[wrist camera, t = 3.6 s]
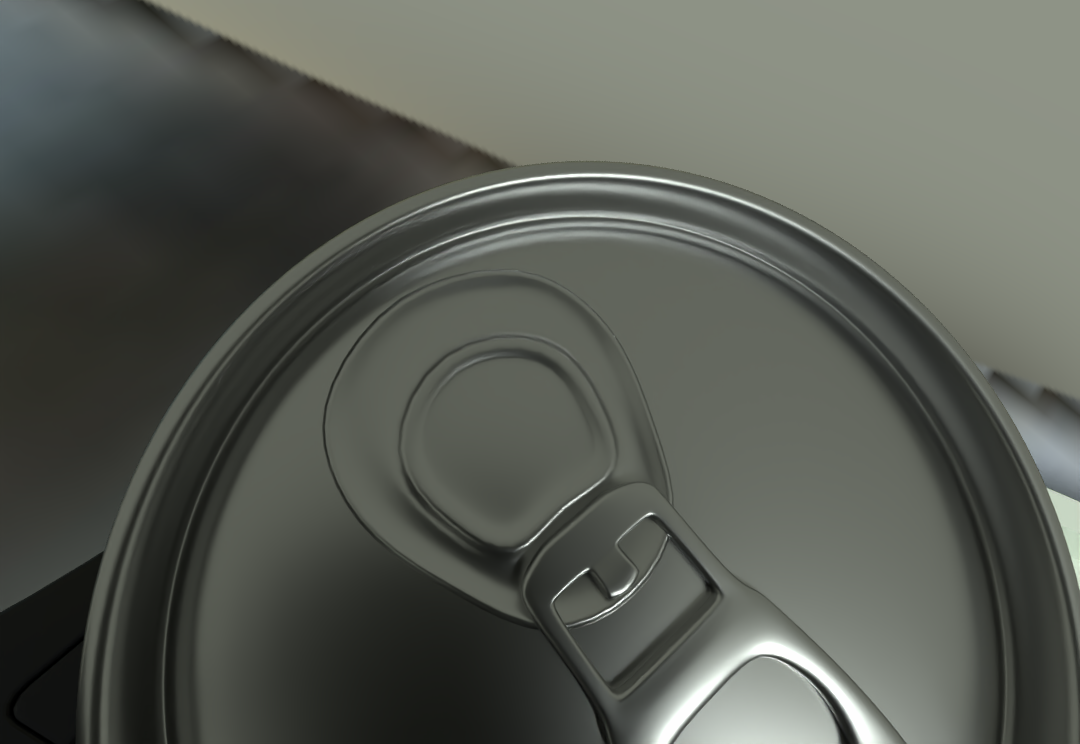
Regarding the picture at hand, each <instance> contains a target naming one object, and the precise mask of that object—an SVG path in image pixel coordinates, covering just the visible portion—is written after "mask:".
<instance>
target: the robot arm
mask: <svg viewBox="0 0 1080 744" xmlns="http://www.w3.org/2000/svg"><path fill="white" fill-rule="evenodd" d="M103 553H104V551H103V552H101V553H100V554H98V555H97V556H95V557H93V558H92V559H90V560H89V561H87V562H85V563H84V564H82V565H80V566H79V567H77V568H75V569H74V570H72V571H70V572H69V573H67V574H65V575H64V576H62V577H61V578H59V579H57V580H56V581H54V582H52V583H51V584H49V585H47V586H46V587H44V588H42V589H41V590H39V591H37V592H36V593H34V594H32V595H31V596H29V597H27V598H25V599H24V600H22V601H20V602H18V603H16V604H15V605H13V606H11V607H9V608H7V609H6V610H4V611H2V612H0V744H76V708H77V693H78V680H79V671H80V663H81V654H82V647H83V641H84V635H85V629H86V623H87V617H88V613H89V608H90V603H91V599H92V594H93V589H94V585H95V582H96V578H97V574H98V570H99V567H100V563H101V559H102V556H103Z"/></svg>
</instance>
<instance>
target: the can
mask: <svg viewBox="0 0 1080 744" xmlns="http://www.w3.org/2000/svg"><path fill="white" fill-rule="evenodd" d="M76 744H1080V589H1079V585H1078V581H1077V577H1076V573H1075V569H1074V566H1073V562H1072V559H1071V555H1070V552H1069V549H1068V546H1067V542H1066V539H1065V536H1064V533H1063V530H1062V527H1061V524H1060V522H1059V519H1058V516H1057V513H1056V511H1055V508H1054V506H1053V503H1052V501H1051V498H1050V496H1049V493H1048V491H1047V488H1046V486H1045V484H1044V481H1043V479H1042V477H1041V475H1040V472H1039V470H1038V468H1037V466H1036V464H1035V462H1034V460H1033V458H1032V456H1031V454H1030V452H1029V450H1028V448H1027V446H1026V444H1025V442H1024V440H1023V438H1022V436H1021V435H1020V433H1019V431H1018V429H1017V427H1016V426H1015V424H1014V422H1013V420H1012V419H1011V417H1010V415H1009V414H1008V412H1007V410H1006V409H1005V407H1004V405H1003V404H1002V402H1001V401H1000V399H999V398H998V396H997V394H996V393H995V391H994V390H993V388H992V387H991V386H990V384H989V383H988V381H987V380H986V378H985V377H984V375H983V374H982V373H981V371H980V370H979V369H978V367H977V366H976V365H975V363H974V362H973V361H972V359H971V358H970V357H969V355H968V354H967V353H966V352H965V350H964V349H963V348H962V347H961V346H960V344H959V343H958V342H957V341H956V339H955V338H954V337H953V336H952V335H951V334H950V332H949V331H948V330H947V329H946V328H945V327H944V326H943V325H942V323H941V322H940V321H939V320H938V319H937V318H936V317H935V316H934V315H933V314H932V313H931V312H930V311H929V310H928V309H927V308H926V307H925V306H924V305H923V304H922V303H921V302H920V301H919V300H918V299H917V298H916V297H915V296H914V295H913V294H912V293H911V292H910V291H909V290H908V289H906V288H905V287H904V286H903V285H902V284H901V283H900V282H899V281H898V280H896V279H895V278H894V277H893V276H891V275H890V274H889V273H888V272H887V271H886V270H884V269H883V268H882V267H881V266H879V265H878V264H877V263H876V262H874V261H873V260H872V259H870V258H869V257H868V256H867V255H865V254H864V253H862V252H861V251H859V250H858V249H857V248H855V247H854V246H852V245H851V244H850V243H848V242H847V241H845V240H844V239H842V238H840V237H839V236H837V235H836V234H834V233H833V232H831V231H829V230H828V229H826V228H824V227H823V226H821V225H819V224H817V223H816V222H814V221H812V220H810V219H808V218H807V217H805V216H803V215H801V214H799V213H797V212H795V211H793V210H791V209H789V208H787V207H785V206H783V205H781V204H779V203H777V202H774V201H772V200H769V199H767V198H765V197H763V196H761V195H758V194H755V193H753V192H750V191H748V190H745V189H742V188H739V187H737V186H734V185H731V184H728V183H725V182H721V181H718V180H715V179H711V178H708V177H704V176H700V175H696V174H692V173H688V172H684V171H679V170H674V169H668V168H663V167H656V166H650V165H642V164H634V163H622V162H606V161H604V162H603V161H567V162H552V163H541V164H532V165H524V166H518V167H511V168H506V169H501V170H496V171H491V172H486V173H482V174H478V175H474V176H470V177H466V178H463V179H460V180H456V181H453V182H450V183H446V184H444V185H441V186H438V187H435V188H432V189H429V190H426V191H424V192H421V193H419V194H416V195H414V196H411V197H409V198H406V199H404V200H402V201H400V202H398V203H396V204H393V205H391V206H389V207H387V208H385V209H383V210H381V211H379V212H377V213H375V214H373V215H371V216H369V217H367V218H365V219H364V220H362V221H360V222H358V223H357V224H355V225H353V226H351V227H350V228H348V229H346V230H345V231H343V232H342V233H340V234H338V235H337V236H335V237H334V238H332V239H331V240H329V241H327V242H326V243H325V244H323V245H322V246H320V247H319V248H318V249H316V250H315V251H313V252H312V253H310V254H309V255H308V256H306V257H305V258H304V259H302V260H301V261H300V262H299V263H297V264H296V265H295V266H293V267H292V268H291V269H290V270H288V271H287V272H286V273H285V274H284V275H283V276H281V277H280V278H279V279H278V280H277V281H275V282H274V283H273V284H272V285H271V286H270V287H269V288H268V289H267V290H265V291H264V292H263V293H262V294H261V295H260V296H259V297H258V298H257V299H256V300H255V301H254V302H253V303H252V304H251V305H250V306H249V307H248V308H247V309H246V310H245V311H244V312H243V313H242V314H241V315H240V316H239V317H238V318H237V319H236V320H235V321H234V322H233V323H232V325H231V326H230V327H229V328H228V329H227V330H226V331H225V332H224V334H223V335H222V336H221V337H220V338H219V339H218V340H217V342H216V343H215V344H214V345H213V347H212V348H211V349H210V350H209V352H208V353H207V354H206V355H205V357H204V358H203V359H202V360H201V362H200V363H199V364H198V366H197V367H196V369H195V370H194V371H193V373H192V374H191V375H190V377H189V378H188V379H187V381H186V382H185V384H184V385H183V387H182V388H181V390H180V391H179V393H178V394H177V396H176V397H175V399H174V400H173V402H172V403H171V405H170V407H169V408H168V410H167V412H166V413H165V415H164V417H163V418H162V420H161V422H160V423H159V425H158V427H157V429H156V430H155V432H154V434H153V436H152V438H151V440H150V441H149V443H148V445H147V447H146V449H145V451H144V453H143V455H142V457H141V459H140V461H139V463H138V465H137V467H136V469H135V471H134V474H133V476H132V478H131V480H130V483H129V485H128V487H127V490H126V492H125V494H124V497H123V499H122V501H121V504H120V507H119V509H118V512H117V515H116V517H115V520H114V523H113V525H112V528H111V531H110V534H109V537H108V540H107V543H106V547H105V550H104V553H103V556H102V559H101V563H100V567H99V570H98V574H97V578H96V582H95V585H94V589H93V594H92V599H91V603H90V608H89V613H88V617H87V623H86V629H85V635H84V641H83V647H82V654H81V663H80V671H79V680H78V693H77V708H76Z"/></svg>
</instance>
